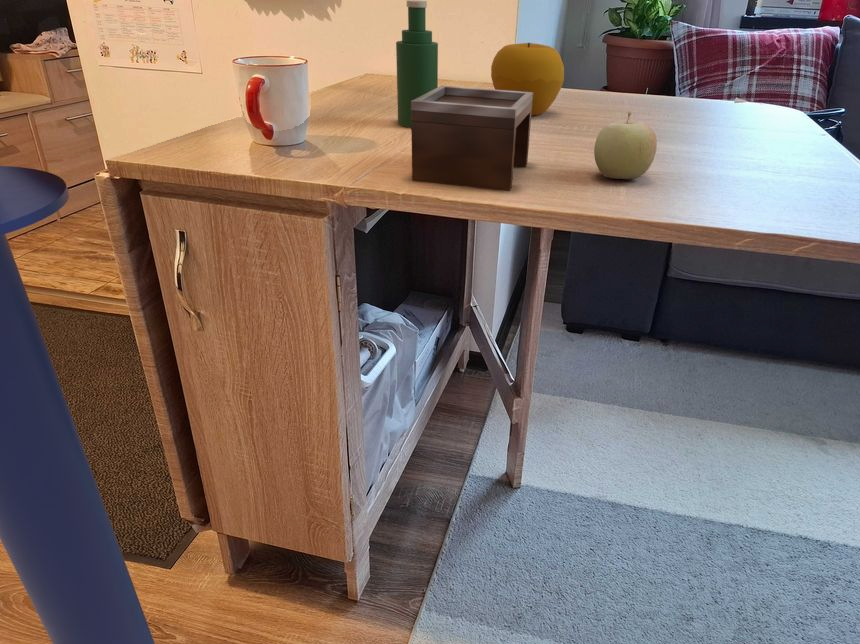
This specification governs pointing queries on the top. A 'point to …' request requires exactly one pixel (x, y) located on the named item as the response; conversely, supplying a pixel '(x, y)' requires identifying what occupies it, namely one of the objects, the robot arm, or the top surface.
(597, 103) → the top surface
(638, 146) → the fruit
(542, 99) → the apple
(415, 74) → the bottle
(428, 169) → the brown wooden box
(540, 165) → the top surface
